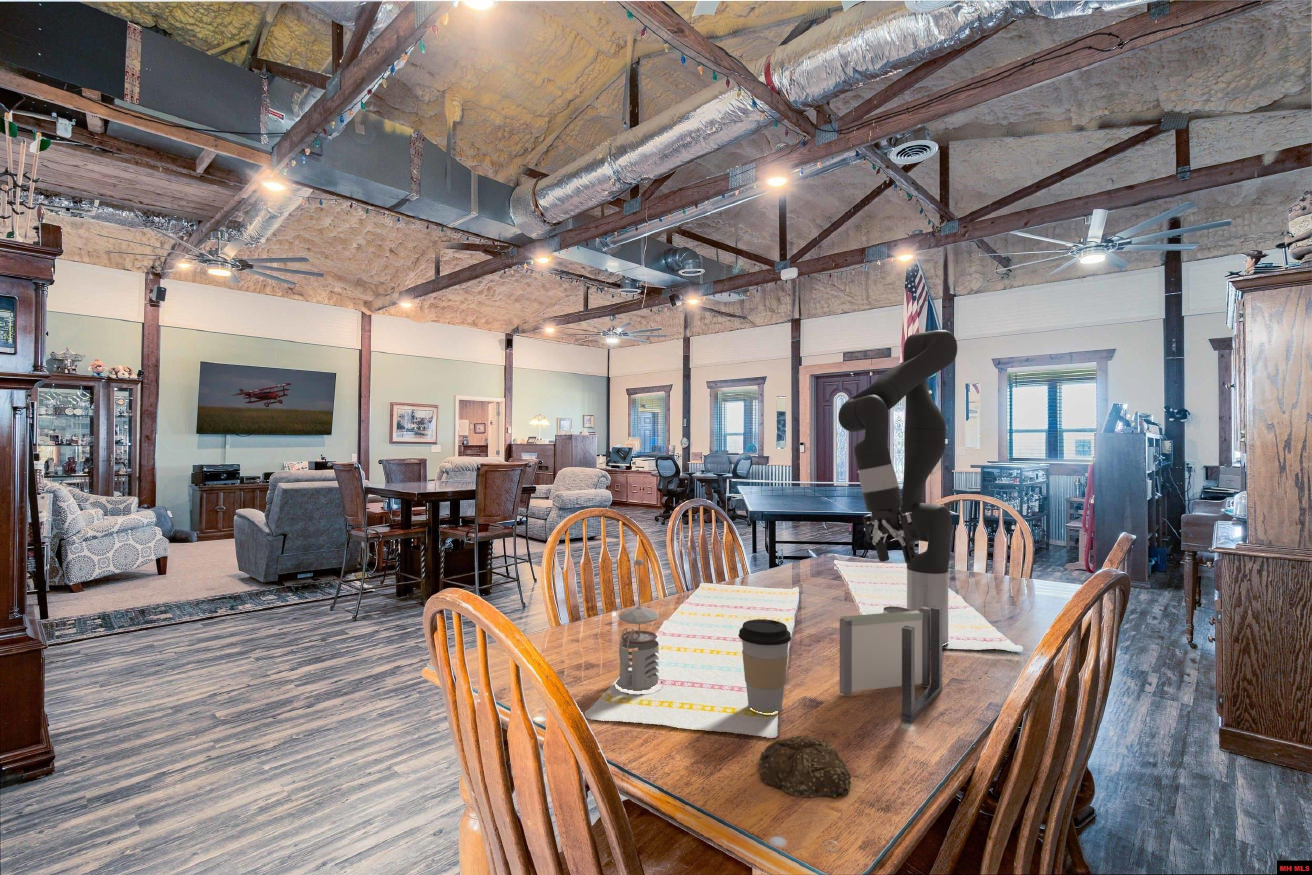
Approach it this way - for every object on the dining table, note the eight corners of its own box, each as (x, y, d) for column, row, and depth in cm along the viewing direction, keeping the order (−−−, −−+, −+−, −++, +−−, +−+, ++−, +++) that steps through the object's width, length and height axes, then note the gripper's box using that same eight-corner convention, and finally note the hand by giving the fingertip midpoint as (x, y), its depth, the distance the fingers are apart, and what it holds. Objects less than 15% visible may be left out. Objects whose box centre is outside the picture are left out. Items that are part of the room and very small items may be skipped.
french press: (671, 680, 122) (671, 556, 122) (646, 702, 111) (646, 567, 111) (628, 671, 126) (628, 552, 126) (600, 693, 115) (600, 562, 115)
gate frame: (933, 686, 119) (934, 605, 119) (942, 688, 118) (942, 607, 118) (901, 720, 104) (901, 628, 104) (910, 723, 103) (910, 630, 103)
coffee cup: (793, 701, 112) (794, 620, 112) (787, 723, 103) (788, 636, 103) (743, 694, 115) (743, 615, 115) (733, 715, 106) (733, 630, 106)
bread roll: (831, 753, 94) (831, 721, 94) (861, 800, 82) (861, 763, 82) (750, 753, 94) (750, 721, 94) (767, 801, 81) (767, 764, 81)
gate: (925, 681, 120) (925, 606, 120) (932, 685, 118) (932, 609, 118) (838, 691, 115) (839, 613, 115) (844, 695, 113) (844, 616, 113)
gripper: (916, 481, 125) (935, 559, 123) (873, 486, 138) (890, 556, 137) (887, 488, 123) (905, 567, 121) (846, 492, 136) (862, 564, 135)
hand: (897, 561), depth 129 cm, fingers open, 8 cm apart
